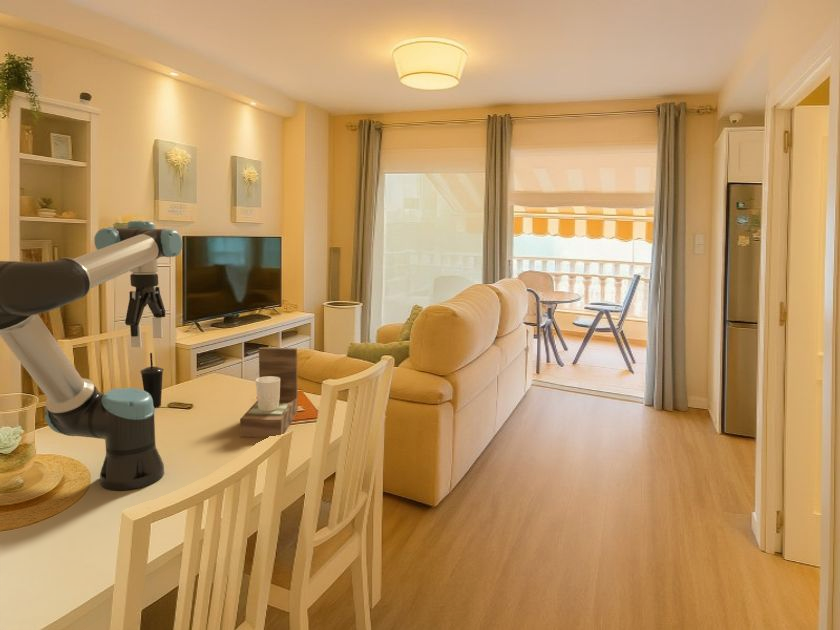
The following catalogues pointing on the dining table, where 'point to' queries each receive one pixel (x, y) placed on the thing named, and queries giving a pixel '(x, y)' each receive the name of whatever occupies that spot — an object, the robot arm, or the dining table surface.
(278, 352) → the walnut shelf
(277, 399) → the white cup
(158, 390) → the drinking cup
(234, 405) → the dining table surface
